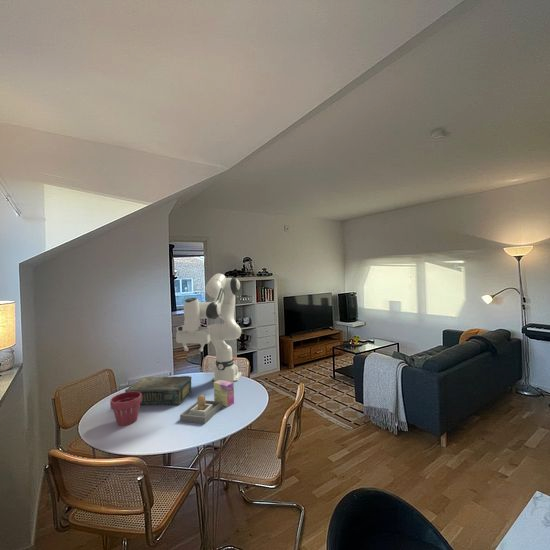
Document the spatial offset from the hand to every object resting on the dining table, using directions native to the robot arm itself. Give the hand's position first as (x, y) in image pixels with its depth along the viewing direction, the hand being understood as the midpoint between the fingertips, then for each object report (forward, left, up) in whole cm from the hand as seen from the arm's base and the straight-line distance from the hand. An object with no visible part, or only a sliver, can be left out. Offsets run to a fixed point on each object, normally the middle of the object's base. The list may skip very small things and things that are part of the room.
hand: (193, 351), depth 164 cm
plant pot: (+25, -24, -30) cm, 46 cm away
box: (-4, +16, -30) cm, 34 cm away
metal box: (-3, -26, -31) cm, 41 cm away
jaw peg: (+10, +10, -29) cm, 32 cm away
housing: (+10, +10, -30) cm, 33 cm away
